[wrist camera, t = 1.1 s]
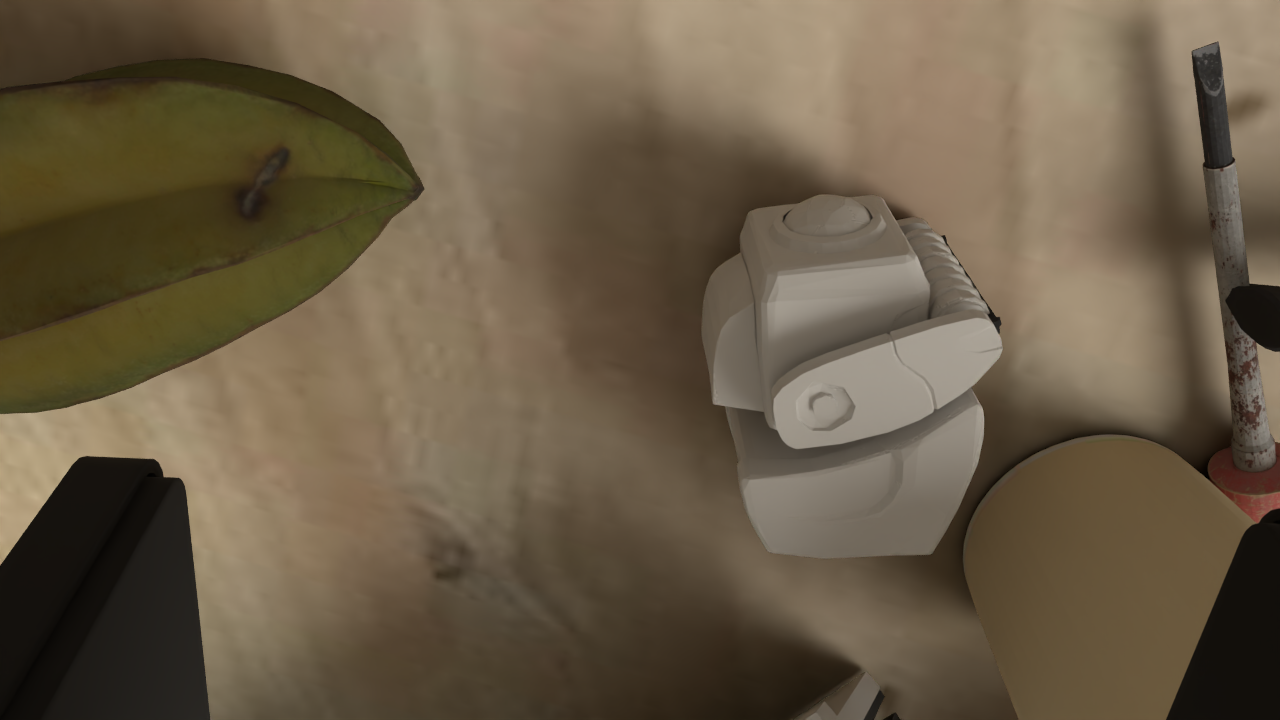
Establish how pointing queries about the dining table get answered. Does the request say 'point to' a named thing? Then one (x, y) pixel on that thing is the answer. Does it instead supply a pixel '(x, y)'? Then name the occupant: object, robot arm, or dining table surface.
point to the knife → (1257, 313)
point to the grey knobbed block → (848, 376)
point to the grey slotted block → (850, 702)
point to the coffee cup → (1098, 576)
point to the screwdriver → (1254, 461)
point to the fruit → (173, 217)
